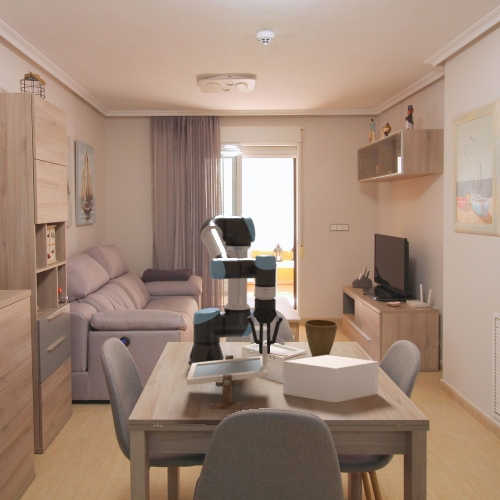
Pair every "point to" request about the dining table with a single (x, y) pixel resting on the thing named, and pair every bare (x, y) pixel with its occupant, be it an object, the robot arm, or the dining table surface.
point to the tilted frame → (227, 370)
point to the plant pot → (320, 336)
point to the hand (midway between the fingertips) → (264, 362)
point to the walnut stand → (227, 392)
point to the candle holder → (258, 333)
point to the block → (330, 378)
